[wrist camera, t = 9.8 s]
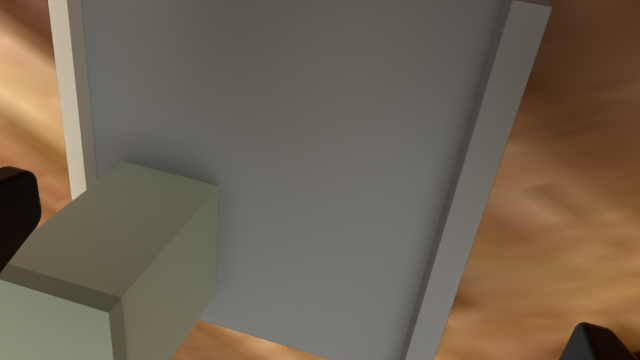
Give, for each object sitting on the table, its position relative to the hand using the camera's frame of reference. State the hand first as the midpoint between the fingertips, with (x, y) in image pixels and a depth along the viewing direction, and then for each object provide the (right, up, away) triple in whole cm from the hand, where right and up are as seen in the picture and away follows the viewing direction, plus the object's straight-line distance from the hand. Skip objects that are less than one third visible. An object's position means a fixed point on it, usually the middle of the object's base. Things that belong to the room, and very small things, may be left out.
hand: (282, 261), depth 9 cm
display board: (-1, +2, +15) cm, 15 cm away
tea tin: (-6, -1, +16) cm, 17 cm away
